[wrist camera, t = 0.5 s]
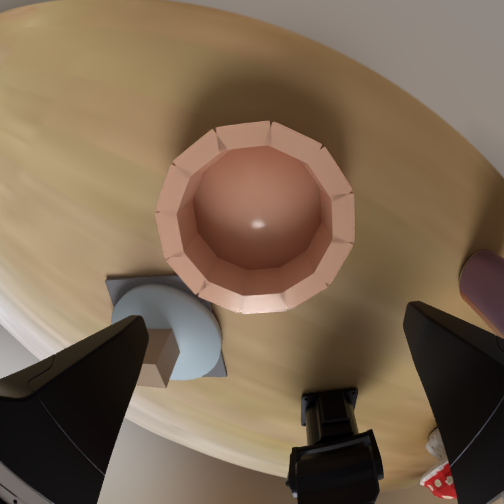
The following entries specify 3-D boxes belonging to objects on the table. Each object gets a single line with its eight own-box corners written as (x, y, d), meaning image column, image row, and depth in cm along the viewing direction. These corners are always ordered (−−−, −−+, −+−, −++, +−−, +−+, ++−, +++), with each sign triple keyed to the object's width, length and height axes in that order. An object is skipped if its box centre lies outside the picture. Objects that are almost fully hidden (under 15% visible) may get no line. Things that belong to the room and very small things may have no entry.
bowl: (337, 272, 23) (351, 304, 18) (195, 283, 24) (179, 316, 19) (330, 123, 19) (348, 117, 14) (170, 141, 20) (143, 141, 15)
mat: (227, 374, 28) (226, 376, 27) (143, 370, 29) (141, 373, 28) (204, 272, 24) (203, 274, 23) (106, 278, 24) (104, 280, 24)
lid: (230, 373, 27) (223, 418, 22) (136, 369, 28) (117, 407, 23) (210, 279, 23) (193, 321, 18) (102, 285, 24) (69, 319, 19)
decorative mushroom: (485, 407, 31) (514, 464, 17) (434, 450, 36) (452, 506, 22) (453, 401, 30) (487, 474, 16) (394, 450, 34) (410, 519, 21)
